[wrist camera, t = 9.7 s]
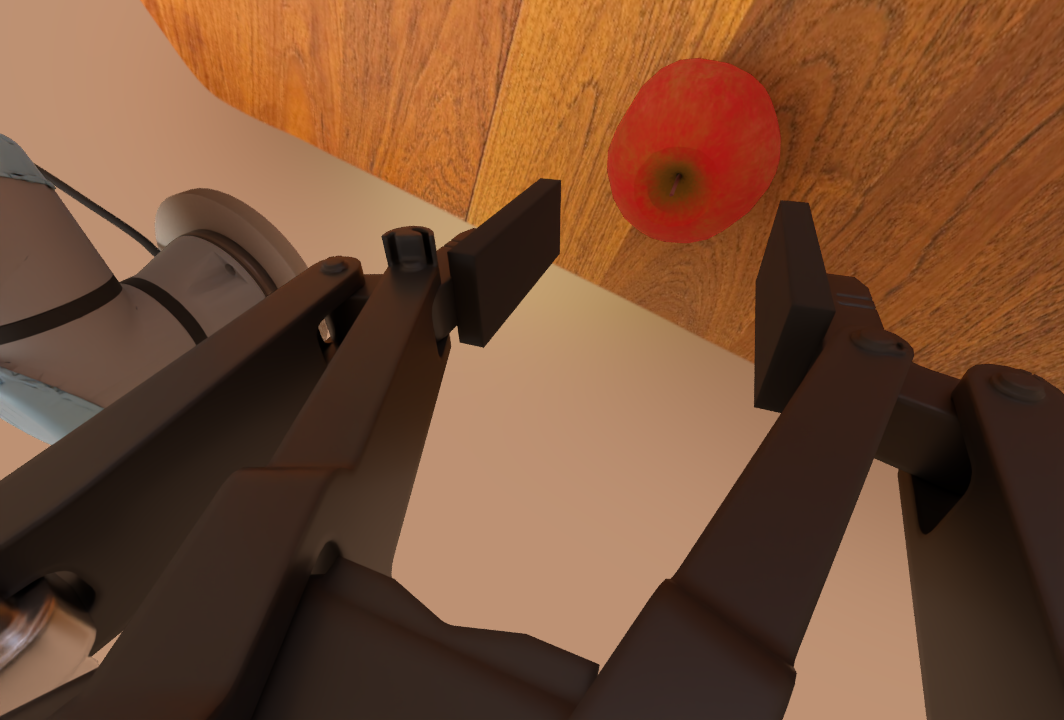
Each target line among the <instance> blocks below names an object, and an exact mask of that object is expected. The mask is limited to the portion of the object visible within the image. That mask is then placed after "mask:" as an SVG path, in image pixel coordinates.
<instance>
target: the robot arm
mask: <svg viewBox="0 0 1064 720" xmlns="http://www.w3.org/2000/svg"><path fill="white" fill-rule="evenodd" d="M55 186H56V187H57V188H59V189H60V190H62V191H63V192H65V193H67V194H68V195H69V196H71V197H72V198H74V199H76V200H77V201H78V202H80V203H81V204H83V205H84V206H86V207H87V208H89V209H90V210H92V211H94V212H95V213H97V214H98V215H100V216H101V217H103V218H104V219H106V220H107V221H109V222H110V223H112V224H113V225H115V226H116V227H118V228H119V229H121V230H122V231H124V232H125V233H127V234H128V235H129V236H131V237H132V238H134V239H135V240H136V241H137V242H139V243H140V244H141V245H142V246H143V247H145V249H146V250H147V251H149V253H151V254H152V255H153V256H154V259H152V260H151V261H150V262H149V263H148V264H147V265H146V266H145V267H144V268H143V269H142V270H141V271H140V272H139V273H137V274H136V275H135V276H132V277H130V278H128V279H126V280H123V281H121V282H118V280H117V279H116V277H115V276H114V275H113V273H112V272H111V270H110V269H109V267H108V266H107V264H106V263H105V261H104V260H103V259H102V257H101V256H100V254H99V253H98V252H97V250H96V249H95V248H94V246H93V244H92V243H91V242H90V240H89V239H88V237H87V236H86V234H85V233H84V232H83V230H82V229H81V227H80V226H79V224H78V223H77V222H76V220H75V219H74V217H73V216H72V214H71V213H70V212H69V210H68V209H67V207H66V206H65V204H64V203H63V202H62V200H61V199H60V198H59V196H58V194H57V193H56V192H55V189H56V188H55ZM560 207H561V180H553V179H542V178H540V179H539V180H538V181H537V182H535V183H534V184H533V185H531V186H530V187H529V188H528V189H526V190H525V191H524V192H523V193H521V194H520V195H519V196H517V197H516V198H515V199H514V200H512V201H511V202H510V203H508V204H507V205H506V206H505V207H503V208H502V209H501V210H500V211H498V212H497V213H496V214H494V215H493V216H492V217H491V218H489V219H488V220H487V221H486V222H484V223H483V224H482V225H480V226H479V227H478V228H477V229H476V228H473V229H470V230H467V231H465V232H462V233H460V234H458V235H457V236H456V237H454V238H453V239H452V240H451V241H449V242H448V243H447V244H445V245H444V247H441V248H440V249H439V250H437V251H436V245H435V239H434V233H433V231H432V230H430V229H429V228H426V227H421V226H408V227H401V228H396V229H393V230H390V231H388V232H386V233H385V234H384V235H382V240H383V245H384V249H385V253H386V258H387V262H388V268H387V269H386V271H385V273H384V274H370V275H369V274H366V275H365V274H363V270H362V266H361V262H360V261H359V260H358V259H356V258H352V257H342V256H336V257H334V256H333V257H329V258H327V259H325V260H322V261H320V262H318V263H316V264H314V265H312V266H311V267H309V268H308V269H306V270H305V271H304V272H302V273H301V274H299V275H298V276H296V277H295V278H293V279H292V280H291V281H289V282H288V283H286V284H285V285H283V286H282V287H280V288H279V289H278V288H277V286H276V285H275V283H274V282H273V280H272V279H271V277H270V276H269V274H268V273H267V272H266V270H265V269H264V268H263V267H262V266H261V265H260V263H259V262H258V261H257V260H256V259H255V258H254V257H253V256H252V255H251V254H250V253H248V252H247V251H246V250H245V249H244V248H242V247H241V246H240V245H239V244H237V243H236V242H234V241H233V240H231V239H229V238H228V237H226V236H224V235H222V234H220V233H217V232H214V231H211V230H206V229H197V230H193V231H191V232H188V233H186V234H183V235H181V236H179V237H177V238H176V239H175V240H173V241H172V242H171V243H169V244H168V245H167V246H166V247H165V248H164V249H163V250H162V251H160V250H159V249H158V248H157V247H156V246H155V245H154V244H153V243H152V242H151V241H150V240H148V239H147V238H146V237H145V236H143V235H142V234H141V233H139V232H138V231H136V230H135V229H134V228H132V227H131V226H129V225H128V224H127V223H125V222H124V221H122V220H121V219H119V218H118V217H116V216H114V215H113V214H111V213H110V212H108V211H107V210H105V209H104V208H102V207H101V206H99V205H97V204H96V203H94V202H93V201H91V200H90V199H88V198H87V197H85V196H84V195H82V194H81V193H79V192H78V191H76V190H75V189H73V188H72V187H71V186H69V185H67V184H66V183H64V182H63V181H61V180H60V179H58V178H57V177H55V176H53V175H52V174H51V173H49V172H47V171H46V170H44V169H43V168H41V167H39V166H38V165H36V164H35V163H33V162H32V161H31V160H30V158H29V157H28V156H27V154H26V153H25V152H24V150H23V149H22V148H21V147H20V146H19V145H18V144H17V143H16V142H15V141H13V140H12V139H10V138H9V137H7V136H5V135H3V134H0V418H1V419H3V420H5V421H7V422H8V423H10V424H11V425H13V426H15V427H17V428H18V429H20V430H22V431H24V432H26V433H27V434H29V435H31V436H33V437H35V438H37V439H39V440H41V441H43V442H45V443H48V444H50V445H51V446H50V447H48V448H47V449H46V450H44V451H43V452H41V453H40V454H38V455H37V456H35V457H34V458H33V459H31V460H30V461H28V462H27V463H25V464H24V465H22V466H21V467H20V468H18V469H17V470H15V471H14V472H12V473H11V474H9V475H8V476H6V477H5V478H4V479H2V480H1V481H0V720H782V719H783V717H784V714H785V711H786V709H787V706H788V703H789V700H790V697H791V694H792V691H793V688H794V685H795V679H796V674H797V673H796V671H795V669H794V662H795V658H796V656H797V653H798V650H799V647H800V645H801V642H802V640H803V637H804V635H805V632H806V630H807V627H808V625H809V622H810V619H811V617H812V614H813V611H814V609H815V606H816V604H817V601H818V599H819V597H820V594H821V591H822V589H823V586H824V584H825V581H826V578H827V576H828V574H829V571H830V569H831V566H832V563H833V561H834V558H835V556H836V553H837V551H838V548H839V546H840V543H841V540H842V538H843V535H844V533H845V530H846V528H847V525H848V523H849V520H850V517H851V515H852V513H853V510H854V508H855V505H856V502H857V500H858V497H859V495H860V492H861V490H862V487H863V485H864V482H865V479H866V477H867V474H868V472H869V469H870V467H871V464H872V461H873V459H874V458H875V459H877V460H880V461H882V462H884V463H886V464H889V465H891V466H893V467H896V468H898V469H899V471H898V482H899V490H900V498H901V507H902V515H903V524H904V532H905V540H906V549H907V557H908V565H909V574H910V582H911V590H912V599H913V607H914V616H915V624H916V632H917V641H918V649H919V658H920V665H921V674H922V683H923V691H924V699H925V708H926V716H927V720H1064V394H1063V393H1062V392H1061V391H1060V390H1059V389H1058V388H1056V387H1055V386H1053V385H1051V384H1050V383H1048V382H1047V381H1045V379H1043V378H1041V377H1039V376H1037V375H1035V374H1034V375H1032V373H1030V372H1028V371H1025V370H1022V369H1015V368H1011V367H1008V366H1002V365H994V364H981V365H975V366H973V367H971V368H970V369H968V370H967V372H966V373H965V375H964V376H963V377H962V379H961V380H960V379H957V378H954V377H951V376H948V375H945V374H942V373H939V372H936V371H932V370H930V369H927V368H925V367H922V366H919V365H917V364H915V363H913V362H912V360H913V357H914V351H913V348H912V347H911V346H910V345H909V344H908V342H907V341H905V340H904V339H902V338H901V337H899V336H897V335H896V334H894V333H891V332H888V331H886V330H884V328H883V325H882V323H881V320H880V317H879V315H878V312H877V310H875V308H876V307H875V304H874V302H873V301H872V297H871V294H870V292H869V289H868V287H866V286H865V285H864V284H863V283H861V282H860V281H859V280H858V279H856V278H855V277H849V276H841V275H834V274H826V270H825V266H824V262H823V258H822V254H821V250H820V246H819V242H818V238H817V234H816V230H815V226H814V222H813V218H812V214H811V210H810V206H809V203H805V202H794V201H783V200H781V201H780V204H779V207H778V210H777V214H776V217H775V220H774V224H773V227H772V230H771V233H770V237H769V240H768V243H767V247H766V250H765V253H764V256H763V260H762V263H761V266H760V269H759V273H758V276H757V279H756V301H755V379H754V380H755V381H754V382H755V383H754V407H756V408H760V409H765V410H770V411H774V412H779V413H781V414H780V416H779V418H778V419H777V421H776V422H775V424H774V425H773V427H772V428H771V430H770V431H769V433H768V434H767V436H766V437H765V439H764V440H763V442H762V444H761V445H760V446H759V448H758V450H757V451H756V453H755V454H754V455H753V457H752V458H751V460H750V462H749V463H748V464H747V466H746V468H745V469H744V471H743V472H742V474H741V475H740V477H739V478H738V480H737V481H736V483H735V484H734V486H733V487H732V489H731V490H730V492H729V493H728V495H727V496H726V498H725V500H724V501H723V503H722V504H721V506H720V507H719V508H718V510H717V511H716V513H715V515H714V516H713V518H712V519H711V521H710V522H709V524H708V525H707V527H706V528H705V530H704V531H703V533H702V534H701V536H700V537H699V539H698V540H697V542H696V543H695V545H694V546H693V548H692V549H691V551H690V552H689V554H688V556H687V557H686V559H685V560H684V562H683V563H682V565H681V566H680V568H679V569H678V570H677V572H676V573H675V575H674V576H673V577H672V578H671V579H665V580H664V581H663V582H662V583H661V585H659V587H658V588H657V589H656V591H655V592H654V593H653V595H652V596H651V598H650V599H649V600H648V602H647V603H646V605H645V606H644V608H643V609H642V611H641V612H640V614H639V615H638V617H637V618H636V620H635V621H634V623H633V624H632V625H631V627H630V628H629V630H628V631H627V633H626V634H625V636H624V637H623V639H622V640H621V642H620V643H619V645H618V646H617V648H616V649H615V651H614V652H613V654H612V655H611V657H610V658H609V660H608V661H607V663H606V664H605V665H604V667H603V668H602V670H601V671H600V673H599V674H598V671H599V664H597V663H594V662H592V661H590V660H587V659H585V658H582V657H580V656H578V655H575V654H573V653H570V652H568V651H566V650H563V649H561V648H558V647H556V646H554V645H551V644H549V643H546V642H544V641H542V640H539V639H537V638H535V637H532V636H530V635H527V634H522V633H512V632H505V631H496V630H487V629H477V628H469V627H461V626H453V625H449V624H447V623H445V622H443V621H442V620H440V619H439V618H438V617H437V616H436V615H435V614H434V613H432V612H431V611H430V610H429V609H428V608H427V607H426V606H425V605H423V604H422V603H421V602H420V601H419V600H418V599H417V598H415V597H414V596H413V595H412V594H411V593H410V592H409V591H407V590H406V589H405V588H404V587H403V586H402V585H401V584H399V583H398V582H397V581H396V580H395V579H393V578H392V576H391V571H392V563H393V558H394V554H395V550H396V546H397V543H398V539H399V536H400V532H401V528H402V524H403V521H404V517H405V513H406V510H407V506H408V502H409V499H410V495H411V492H412V488H413V484H414V481H415V477H416V473H417V470H418V466H419V462H420V458H421V455H422V451H423V448H424V444H425V440H426V437H427V433H428V429H429V426H430V422H431V418H432V415H433V411H434V407H435V404H436V400H437V396H438V393H439V389H440V386H441V382H442V378H443V374H444V371H445V367H446V364H447V360H448V356H449V353H450V349H451V341H450V336H449V333H450V332H451V331H452V330H453V329H454V328H455V327H456V326H458V334H459V340H460V343H465V344H469V345H474V346H479V347H483V348H484V347H485V345H486V344H487V343H488V342H489V341H490V339H491V338H492V337H493V336H494V334H495V333H496V332H497V331H498V329H499V328H500V327H501V326H502V324H503V323H504V322H505V320H506V319H507V318H508V317H509V316H510V315H511V313H512V312H513V311H514V310H515V308H516V307H517V306H518V305H519V303H520V302H521V301H522V300H523V298H524V297H525V296H526V295H527V293H528V292H529V291H530V290H531V289H532V287H533V286H534V285H535V284H536V282H537V281H538V280H539V279H540V277H541V276H542V275H543V274H544V273H545V271H546V270H547V269H548V267H549V266H550V265H551V264H552V263H553V261H554V260H555V259H556V258H557V256H558V255H559V254H560ZM324 318H325V321H326V324H327V327H328V330H329V333H330V337H329V338H328V339H327V340H326V341H324V340H323V339H322V337H321V334H320V332H319V329H318V326H319V324H320V323H321V321H322V320H323V319H324ZM122 631H123V632H122ZM121 632H122V633H121ZM120 633H121V635H120V636H119V638H118V639H117V641H116V642H115V643H114V645H113V646H112V648H111V649H110V651H109V652H108V654H107V655H106V657H105V658H104V660H103V661H102V663H101V664H100V666H99V664H98V661H97V660H96V659H94V658H93V657H92V656H93V655H94V654H95V653H96V652H97V651H99V650H100V649H101V648H102V647H104V646H105V645H106V644H107V643H109V642H110V641H111V640H112V639H113V638H115V637H116V636H117V635H118V634H120Z"/></svg>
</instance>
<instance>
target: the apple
mask: <svg viewBox="0 0 1064 720" xmlns="http://www.w3.org/2000/svg"><path fill="white" fill-rule="evenodd" d="M780 143H781V136H780V130H779V125H778V120H777V116H776V113H775V110H774V107H773V104H772V101H771V98H770V96H769V95H768V93H767V91H766V89H765V88H764V86H763V85H762V84H761V83H760V82H759V81H757V80H756V79H755V78H754V77H753V76H752V75H751V74H749V73H747V72H745V71H743V70H741V69H739V68H737V67H735V66H733V65H731V64H730V63H724V62H719V61H713V60H707V59H702V58H695V59H685V60H679V61H677V62H674V63H672V64H670V65H668V66H666V67H664V68H662V69H660V70H659V71H658V72H657V73H656V74H655V75H654V76H653V77H652V78H651V79H650V80H648V81H647V82H646V83H645V84H644V85H643V86H642V87H641V89H640V91H639V92H638V94H637V95H636V97H635V99H634V100H633V102H632V104H631V105H630V107H629V109H628V110H627V112H626V114H625V115H624V117H623V118H622V120H621V122H620V123H619V125H618V127H617V129H616V132H615V134H614V137H613V139H612V142H611V144H610V147H609V149H608V162H607V172H608V177H609V181H610V186H611V190H612V195H613V199H614V201H615V202H616V204H617V206H618V208H619V210H620V211H621V213H622V215H623V217H624V218H625V219H626V220H627V221H628V222H630V223H631V224H632V225H633V226H634V227H635V228H636V229H637V230H639V231H640V232H642V233H643V234H645V235H647V236H649V237H651V238H653V239H657V240H661V241H664V242H676V243H691V242H696V241H701V240H706V239H709V238H711V237H713V236H714V235H716V234H718V233H720V232H722V231H724V230H725V229H726V228H728V227H729V226H730V225H732V224H733V223H734V222H736V221H737V220H739V219H740V218H741V217H743V216H744V215H745V214H747V213H748V212H749V211H750V210H751V209H752V208H753V206H754V205H755V204H756V203H757V201H758V200H759V199H760V198H761V196H762V195H763V194H764V193H765V192H766V190H767V189H768V188H769V186H770V184H771V182H772V180H773V178H774V176H775V174H776V171H777V167H778V164H779V160H780Z"/></svg>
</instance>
